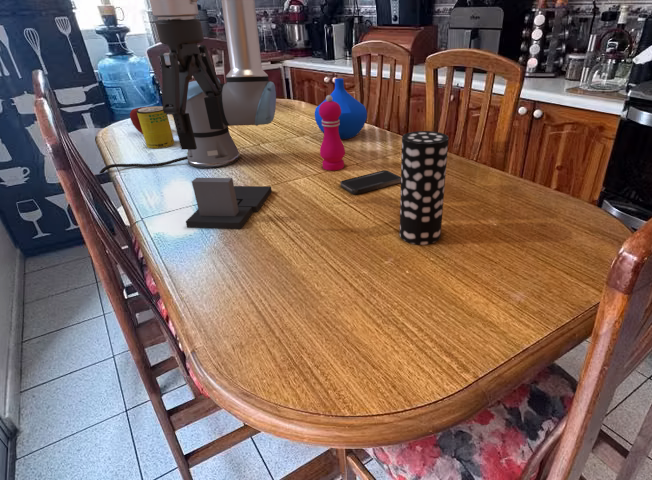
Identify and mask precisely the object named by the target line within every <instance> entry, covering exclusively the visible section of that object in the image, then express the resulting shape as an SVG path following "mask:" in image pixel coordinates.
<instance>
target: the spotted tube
mask: <svg viewBox="0 0 652 480" xmlns="http://www.w3.org/2000/svg"><path fill="white" fill-rule="evenodd" d="M449 137H450V136H449V135H447V134H445V133H443V132H439V131H434V130H433V131H432V130H417V131H411V132H407V133H404V134H403V135H402V136H401V161H400V163H401V167H400V177H401V182H400V197H399V198H400V202H399V203H400V207H399V237H400V239H401V240H402V241H404V242H406V243H409V244H411V245H421V246H425V245H430V244H431V245H432V244H434V243H436V242H438V241H439V240H440V239H441V235H442V234H441V233H442V224H443V223H442V221H443V210H444V198H445V189H446V187H445V186H446V174H447V163H448V151H449V150H448V149H449V140H450V139H449Z"/></svg>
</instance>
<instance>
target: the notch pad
mask: <svg viewBox="0 0 652 480" xmlns="http://www.w3.org/2000/svg"><path fill="white" fill-rule="evenodd" d="M234 189H235V194H236V200H240V204H239V205H238V207H252V212H253V213H258V212H259V210H260V209H261V208H262V206H264V203H265V202H266V201H267V199H268V198H269V196H270V195H271V194H272V192H273V191H272V190H273V189H272V186H270V185H269V186H267V185H266V186H265V185H263V186H260V185H250V186H249V185H234Z"/></svg>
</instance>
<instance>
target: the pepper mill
mask: <svg viewBox="0 0 652 480" xmlns="http://www.w3.org/2000/svg"><path fill="white" fill-rule="evenodd" d="M325 99H326V100H327V101H326V102H323V101H322V102H323V103H322V102H321V103H322V104H321V103H320V104H321V105H320V104H319V105H320V107H319V114H320V116H321V117H322V119H323V120H322V126H323V127H324V133H323V139H322V142H321V144H320V148H319V155H320V157H321V158H322V163H321V164H322V169H323V170H325V171H330V172H331V171H339V170H342V169H343V168H344V167H345V161H344V157H345V155H346V149H345V145H344V143H343V141H342V139H340V136H339V131H338V126H339V125H340V123H339V121H340V120H339V119H338V118H339V116H340V115H341V108H340V106H339V104H338V103H336V102H334V101H332V99H333V98H332V96H331V95H330V94H327V95H326V96H325Z"/></svg>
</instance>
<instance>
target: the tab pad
mask: <svg viewBox="0 0 652 480" xmlns="http://www.w3.org/2000/svg"><path fill="white" fill-rule="evenodd" d="M191 184H192V189H193V193H194V197H195V201H196V206H197V210H196V211H195V212H193V214H191V215H190V216H189V218H187V219H186V220H185V223H186V227H187V228H189V229H190V228H191V229H192V228H195V229H197V228H198V229H232V230H235V229H237V230H240V229H241V230H242V228H243V226H244V225H245V224H246V222H247V221H248V220H249V218H250V217H251V216H252V214H253V213H254V212H252V207H238V205H239V204H240V200H236V194H235V189H234V186H235V185H234V180H233V177H195V178H194V179H193V180H191Z"/></svg>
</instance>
